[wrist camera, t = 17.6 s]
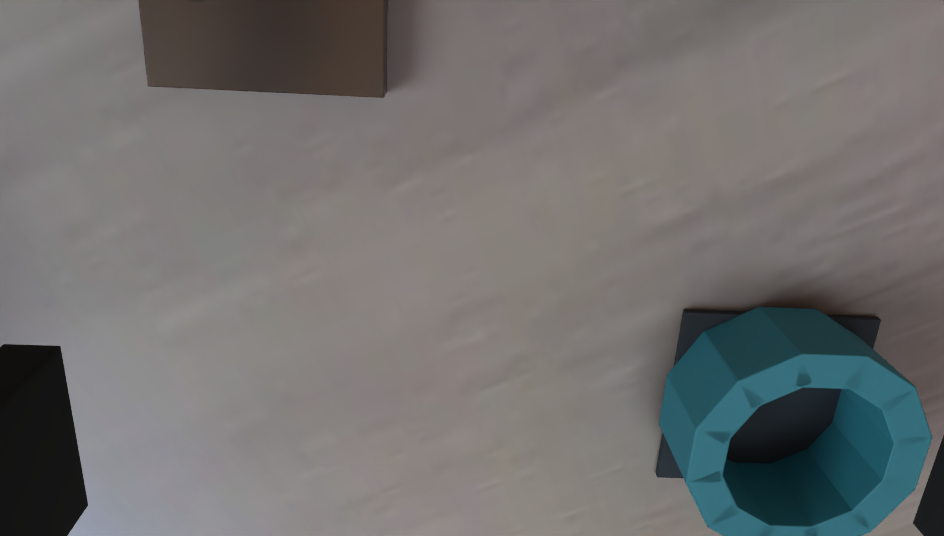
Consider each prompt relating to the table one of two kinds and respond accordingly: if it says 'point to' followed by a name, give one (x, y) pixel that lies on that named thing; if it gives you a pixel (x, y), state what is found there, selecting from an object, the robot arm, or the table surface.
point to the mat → (778, 421)
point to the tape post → (267, 45)
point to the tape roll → (827, 459)
